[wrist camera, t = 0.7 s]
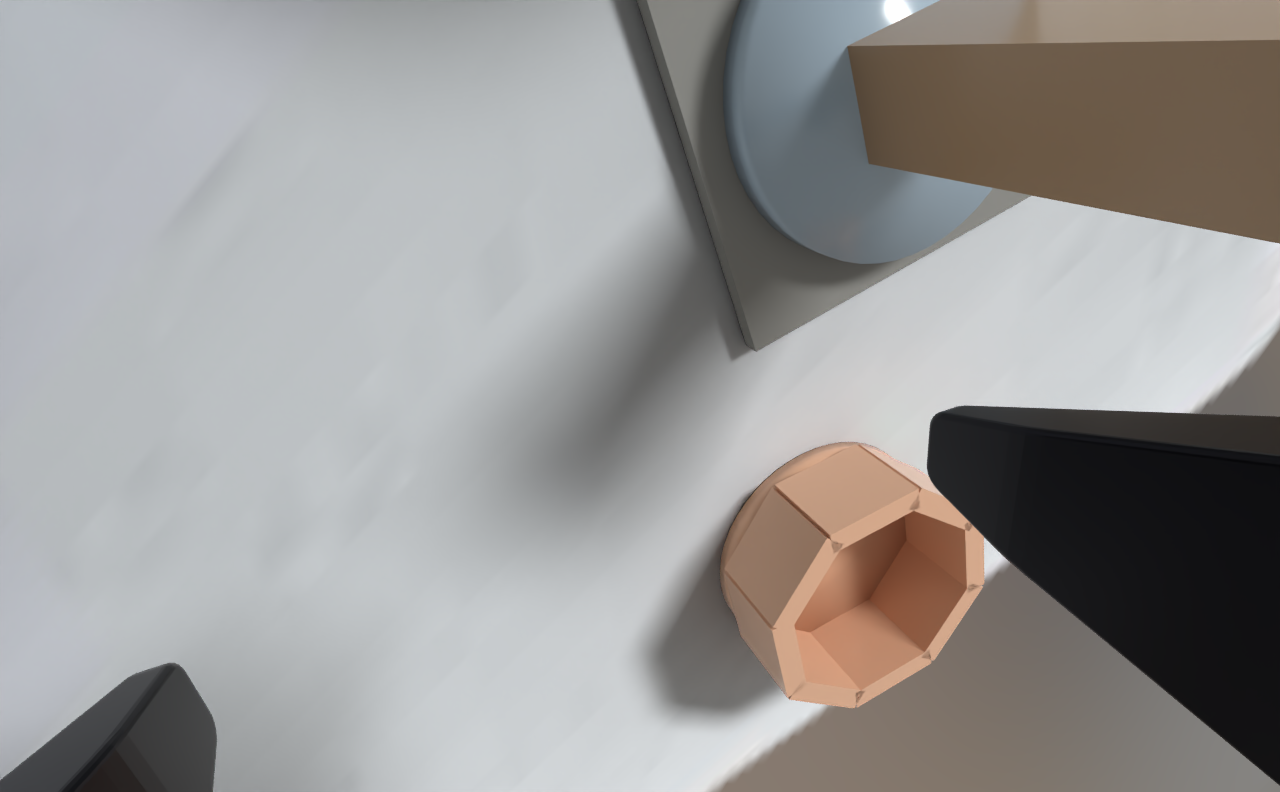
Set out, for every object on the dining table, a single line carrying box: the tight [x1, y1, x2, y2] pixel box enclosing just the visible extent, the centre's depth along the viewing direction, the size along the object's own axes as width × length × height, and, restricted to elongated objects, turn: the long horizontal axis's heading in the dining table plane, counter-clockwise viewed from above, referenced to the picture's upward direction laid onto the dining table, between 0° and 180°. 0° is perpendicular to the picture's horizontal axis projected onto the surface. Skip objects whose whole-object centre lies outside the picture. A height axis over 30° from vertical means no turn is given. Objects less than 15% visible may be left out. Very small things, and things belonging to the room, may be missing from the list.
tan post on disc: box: [723, 0, 1280, 264], centre depth 16 cm, size 10×10×13 cm
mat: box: [637, 0, 1032, 351], centre depth 21 cm, size 12×12×1 cm
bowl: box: [720, 442, 984, 708], centre depth 27 cm, size 9×9×4 cm
